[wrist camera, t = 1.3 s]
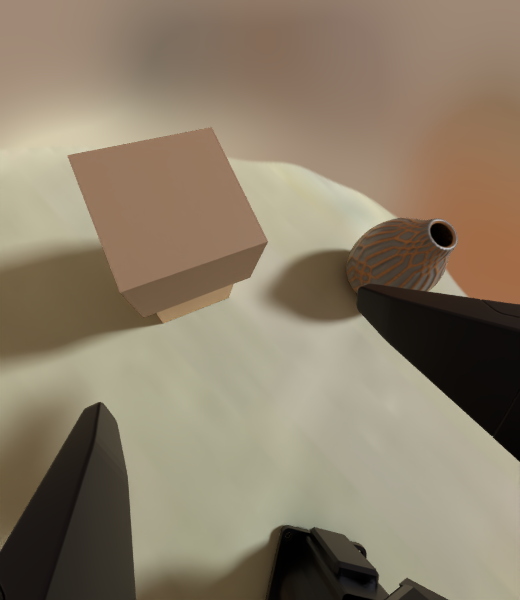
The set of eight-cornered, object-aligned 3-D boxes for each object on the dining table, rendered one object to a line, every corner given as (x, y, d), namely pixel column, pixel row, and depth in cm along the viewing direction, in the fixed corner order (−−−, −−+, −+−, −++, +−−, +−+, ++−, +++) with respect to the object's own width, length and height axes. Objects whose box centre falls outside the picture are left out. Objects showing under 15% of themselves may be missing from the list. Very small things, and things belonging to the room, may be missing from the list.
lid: (250, 277, 18) (267, 241, 13) (143, 317, 16) (119, 292, 11) (208, 188, 19) (210, 125, 14) (103, 215, 17) (66, 153, 12)
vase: (321, 281, 26) (379, 235, 17) (357, 232, 28) (423, 171, 20) (380, 327, 26) (465, 304, 17) (410, 275, 28) (499, 232, 20)
